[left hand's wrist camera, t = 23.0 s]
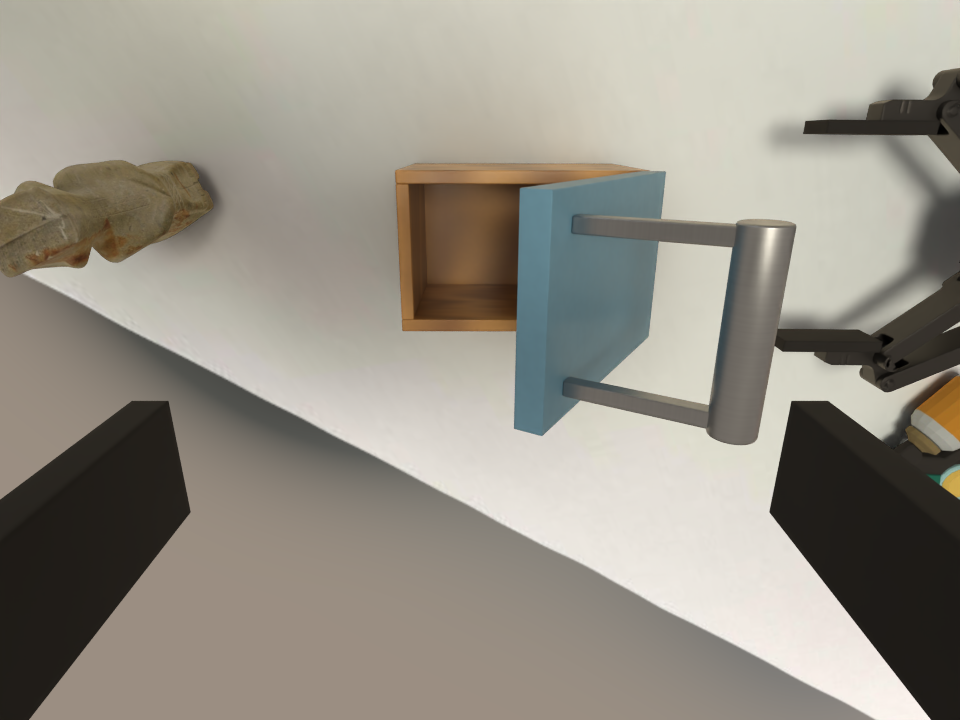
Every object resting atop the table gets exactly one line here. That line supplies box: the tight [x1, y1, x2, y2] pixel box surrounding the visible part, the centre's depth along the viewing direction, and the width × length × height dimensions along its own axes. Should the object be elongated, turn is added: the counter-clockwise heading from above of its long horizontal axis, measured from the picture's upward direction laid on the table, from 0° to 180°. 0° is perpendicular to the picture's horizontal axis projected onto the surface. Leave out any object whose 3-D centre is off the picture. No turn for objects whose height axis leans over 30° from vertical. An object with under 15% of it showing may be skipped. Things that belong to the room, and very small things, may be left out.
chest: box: [395, 163, 649, 331], centre depth 40 cm, size 14×10×10 cm, turn 90°
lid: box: [514, 171, 796, 445], centre depth 27 cm, size 15×10×9 cm
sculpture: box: [0, 160, 213, 277], centre depth 37 cm, size 6×7×15 cm
